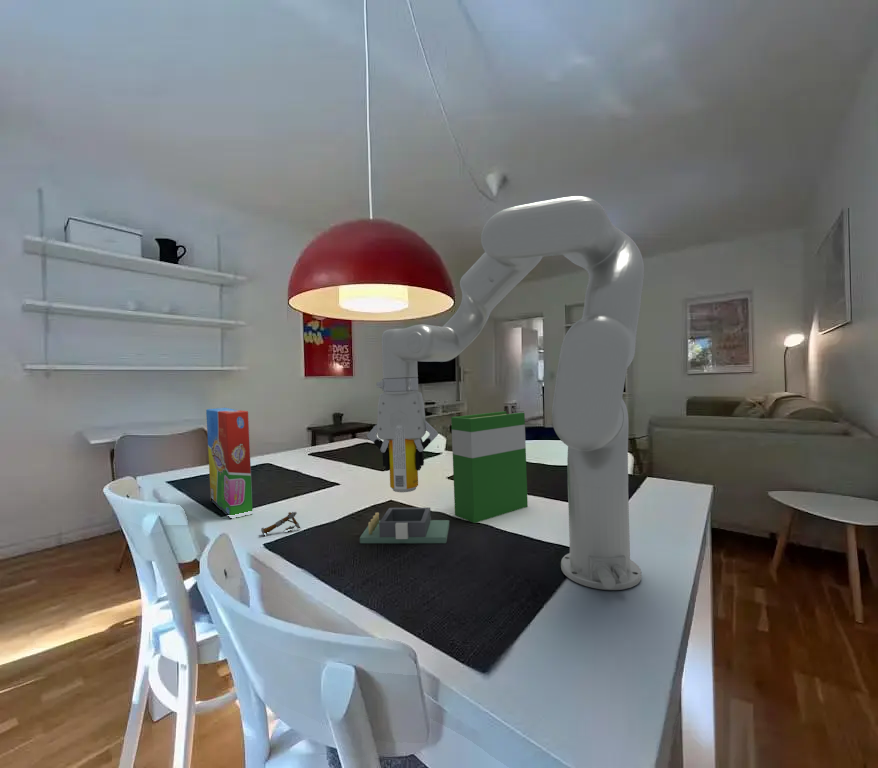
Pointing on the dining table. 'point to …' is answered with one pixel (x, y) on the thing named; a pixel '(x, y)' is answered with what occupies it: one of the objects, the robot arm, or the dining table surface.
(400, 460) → the beer can
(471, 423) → the green cereal box
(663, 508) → the dining table surface
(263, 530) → the wooden post with brackets
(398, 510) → the header board
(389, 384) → the robot arm
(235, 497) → the game box
